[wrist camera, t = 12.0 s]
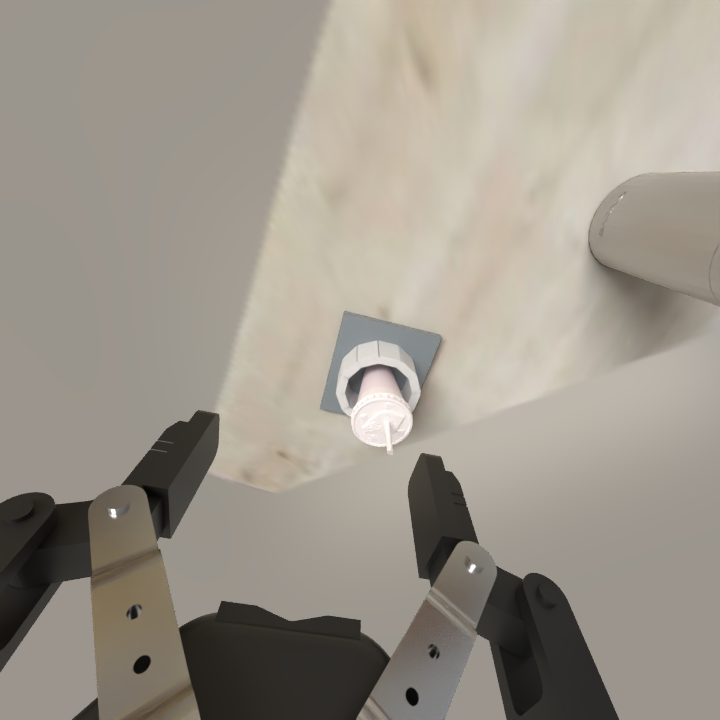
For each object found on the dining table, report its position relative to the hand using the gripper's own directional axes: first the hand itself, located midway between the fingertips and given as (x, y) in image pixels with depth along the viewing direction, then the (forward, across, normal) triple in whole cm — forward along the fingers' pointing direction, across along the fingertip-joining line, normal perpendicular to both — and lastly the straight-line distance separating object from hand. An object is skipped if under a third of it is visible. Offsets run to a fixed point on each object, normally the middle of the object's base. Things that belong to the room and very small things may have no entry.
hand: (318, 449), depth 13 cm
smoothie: (+27, -6, +11) cm, 30 cm away
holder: (+28, -6, +11) cm, 31 cm away
